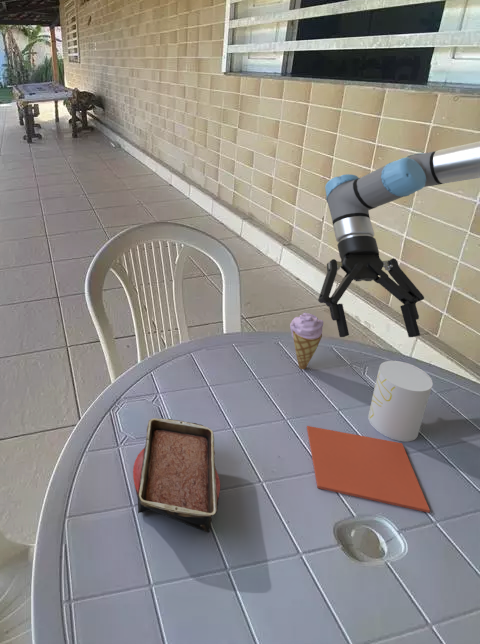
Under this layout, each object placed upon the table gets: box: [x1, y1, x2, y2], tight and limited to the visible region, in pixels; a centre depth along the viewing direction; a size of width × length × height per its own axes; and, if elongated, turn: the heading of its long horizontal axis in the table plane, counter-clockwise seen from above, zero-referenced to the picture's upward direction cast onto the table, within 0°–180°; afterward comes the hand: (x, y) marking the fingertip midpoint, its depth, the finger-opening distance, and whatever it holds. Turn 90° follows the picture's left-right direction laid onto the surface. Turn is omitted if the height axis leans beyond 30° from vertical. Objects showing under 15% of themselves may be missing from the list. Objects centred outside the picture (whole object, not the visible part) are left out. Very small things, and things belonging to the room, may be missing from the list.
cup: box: [367, 360, 434, 443], centre depth 81 cm, size 8×8×12 cm
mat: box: [306, 425, 431, 514], centre depth 75 cm, size 16×13×1 cm
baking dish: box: [132, 417, 221, 533], centre depth 71 cm, size 14×18×10 cm
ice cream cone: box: [289, 311, 324, 370], centre depth 96 cm, size 7×6×15 cm
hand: (379, 336), depth 87 cm, fingers open, 13 cm apart
